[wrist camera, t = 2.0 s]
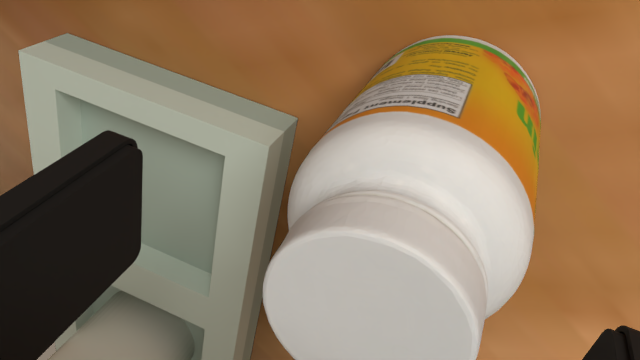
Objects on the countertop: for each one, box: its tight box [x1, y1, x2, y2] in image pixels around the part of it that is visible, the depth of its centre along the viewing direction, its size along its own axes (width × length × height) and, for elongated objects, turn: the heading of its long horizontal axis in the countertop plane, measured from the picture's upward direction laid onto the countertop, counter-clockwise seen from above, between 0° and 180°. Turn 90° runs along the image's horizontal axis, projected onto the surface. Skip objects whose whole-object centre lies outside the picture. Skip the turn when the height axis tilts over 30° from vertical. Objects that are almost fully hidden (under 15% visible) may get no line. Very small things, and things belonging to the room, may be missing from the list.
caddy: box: [18, 33, 298, 360], centre depth 24 cm, size 18×10×2 cm, turn 168°
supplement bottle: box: [263, 35, 541, 360], centre depth 13 cm, size 5×5×10 cm
